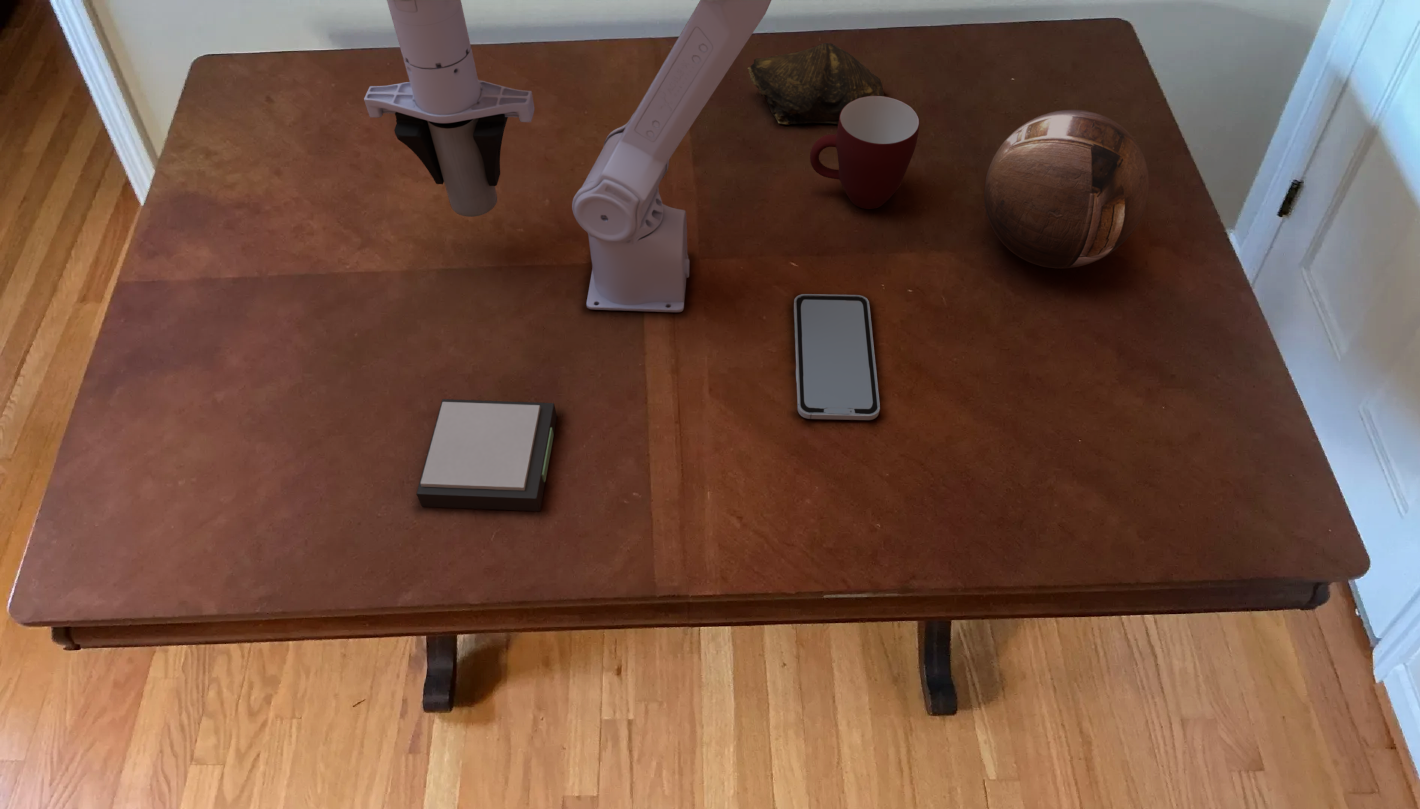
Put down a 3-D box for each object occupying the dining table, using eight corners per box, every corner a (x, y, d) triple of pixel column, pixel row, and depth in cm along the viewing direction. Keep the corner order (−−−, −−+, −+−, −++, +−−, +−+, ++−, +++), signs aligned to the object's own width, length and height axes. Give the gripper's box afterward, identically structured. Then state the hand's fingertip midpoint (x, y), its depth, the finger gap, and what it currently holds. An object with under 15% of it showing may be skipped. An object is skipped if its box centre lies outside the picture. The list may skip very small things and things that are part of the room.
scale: (558, 416, 89) (555, 399, 87) (541, 511, 83) (537, 495, 81) (446, 412, 90) (440, 395, 88) (421, 506, 84) (414, 490, 82)
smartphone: (868, 295, 97) (881, 415, 88) (867, 301, 98) (880, 421, 89) (793, 293, 98) (797, 414, 88) (792, 299, 98) (797, 420, 89)
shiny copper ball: (965, 195, 108) (996, 73, 96) (1106, 203, 107) (1155, 81, 95) (976, 295, 98) (1012, 174, 87) (1131, 304, 98) (1188, 183, 86)
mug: (809, 223, 105) (817, 145, 97) (804, 173, 110) (811, 95, 102) (909, 222, 105) (925, 144, 97) (900, 172, 110) (914, 94, 102)
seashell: (880, 76, 120) (891, 32, 114) (886, 135, 117) (898, 94, 110) (745, 75, 120) (748, 31, 114) (746, 135, 116) (750, 93, 110)
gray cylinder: (488, 220, 95) (466, 130, 87) (443, 214, 96) (418, 124, 88) (504, 190, 98) (484, 100, 90) (460, 184, 98) (437, 94, 90)
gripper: (530, 25, 86) (551, 154, 97) (364, 21, 87) (403, 149, 97) (515, 73, 82) (539, 202, 92) (341, 68, 82) (385, 196, 93)
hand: (468, 178), depth 95 cm, fingers closed on gray cylinder, 4 cm apart
